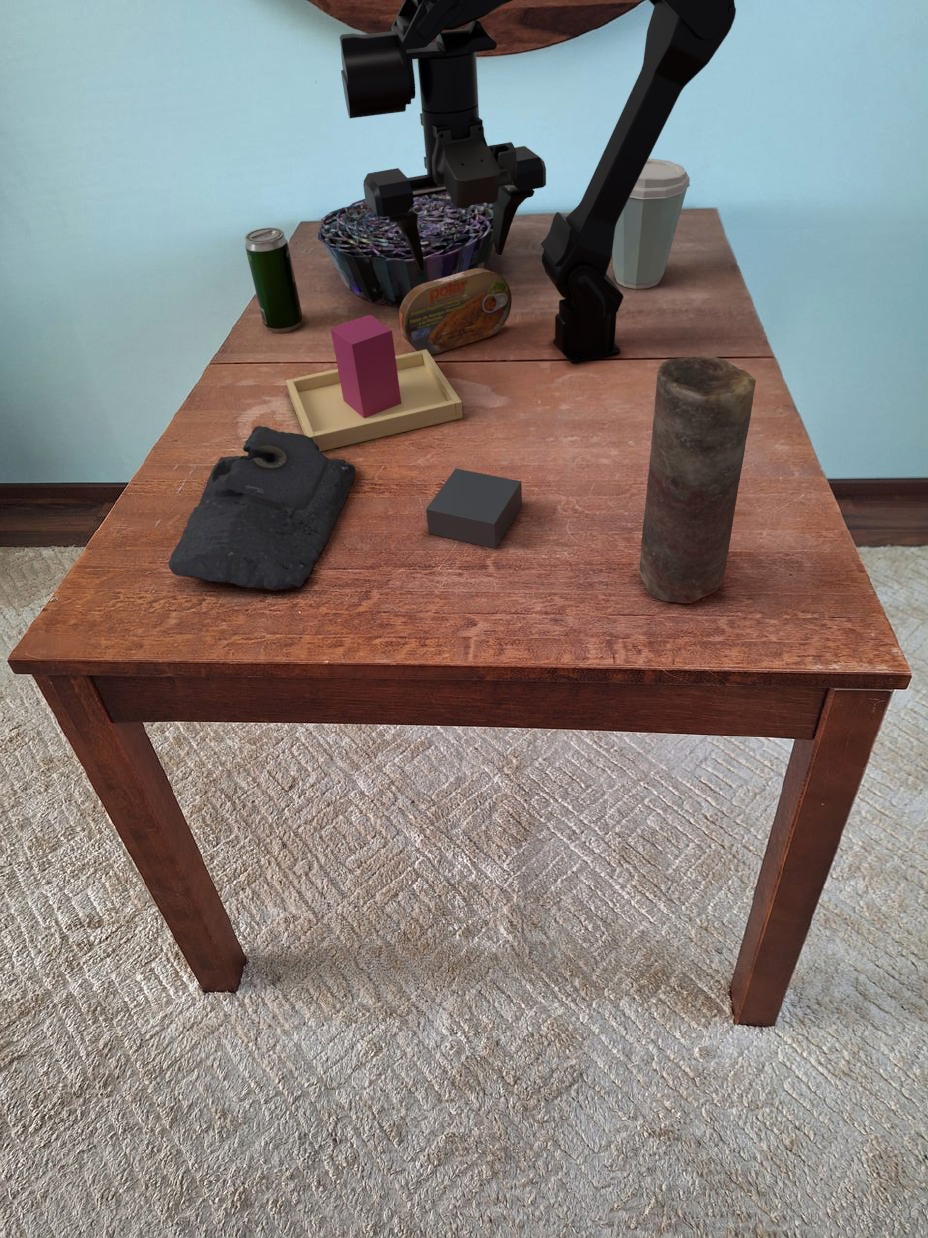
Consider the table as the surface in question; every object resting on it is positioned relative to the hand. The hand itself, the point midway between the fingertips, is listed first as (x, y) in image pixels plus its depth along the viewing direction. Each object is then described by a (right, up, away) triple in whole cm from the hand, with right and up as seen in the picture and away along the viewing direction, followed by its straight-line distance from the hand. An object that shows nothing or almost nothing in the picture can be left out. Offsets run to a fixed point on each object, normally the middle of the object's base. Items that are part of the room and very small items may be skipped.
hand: (460, 261), depth 97 cm
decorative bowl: (-7, +10, +30) cm, 32 cm away
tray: (-10, -15, +4) cm, 19 cm away
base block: (+2, -30, -13) cm, 33 cm away
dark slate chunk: (-20, -30, -10) cm, 38 cm away
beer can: (-24, 0, +21) cm, 32 cm away
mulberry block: (-10, -15, +4) cm, 18 cm away
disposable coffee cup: (+25, +7, +24) cm, 35 cm away
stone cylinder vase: (+20, -37, -20) cm, 46 cm away
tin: (0, -5, +14) cm, 15 cm away
